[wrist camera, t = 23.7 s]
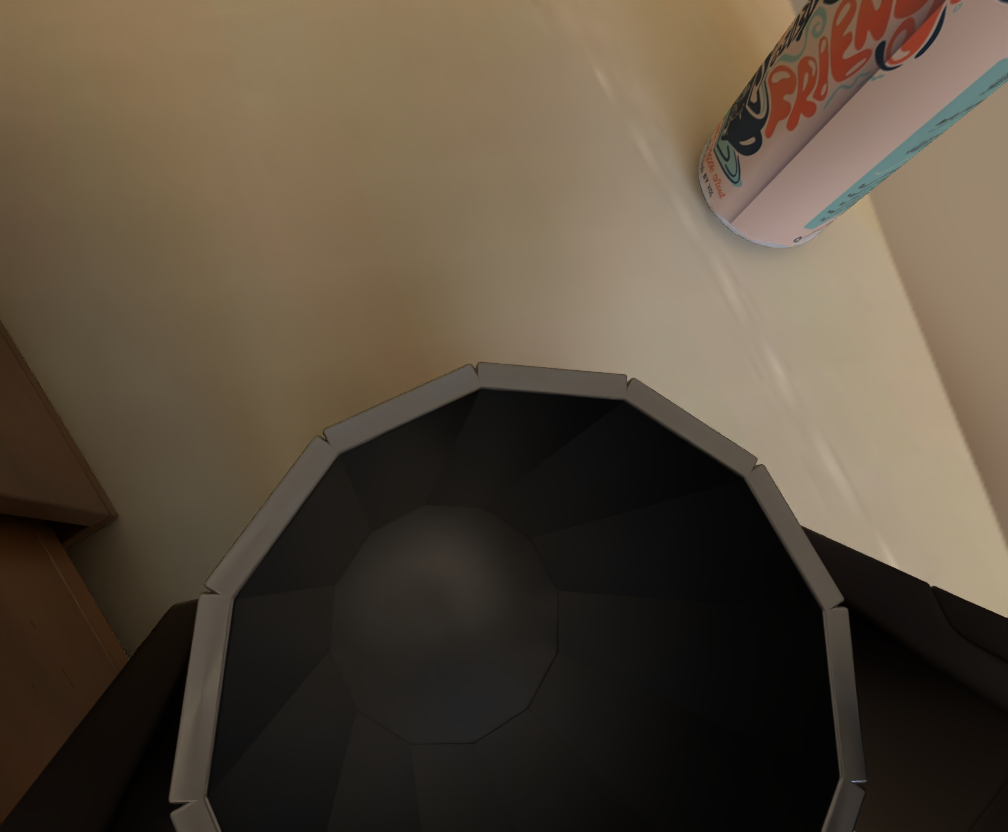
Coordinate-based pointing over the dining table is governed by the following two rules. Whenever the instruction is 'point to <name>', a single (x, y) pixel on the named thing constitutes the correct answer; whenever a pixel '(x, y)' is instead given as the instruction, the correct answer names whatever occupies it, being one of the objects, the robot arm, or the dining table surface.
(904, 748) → the robot arm
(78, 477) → the cabinet
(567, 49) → the dining table surface
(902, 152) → the beer can
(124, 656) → the drawer
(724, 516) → the tapered cup
